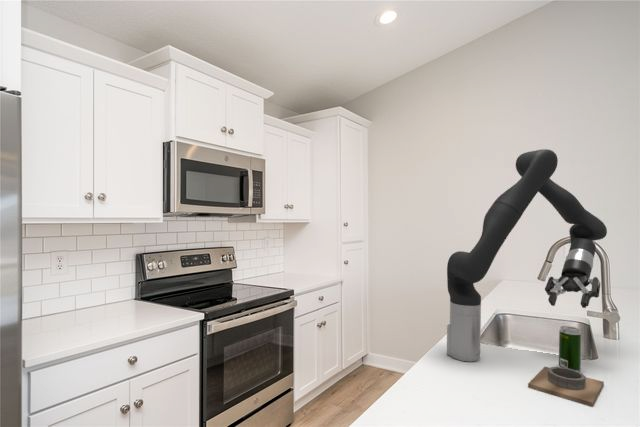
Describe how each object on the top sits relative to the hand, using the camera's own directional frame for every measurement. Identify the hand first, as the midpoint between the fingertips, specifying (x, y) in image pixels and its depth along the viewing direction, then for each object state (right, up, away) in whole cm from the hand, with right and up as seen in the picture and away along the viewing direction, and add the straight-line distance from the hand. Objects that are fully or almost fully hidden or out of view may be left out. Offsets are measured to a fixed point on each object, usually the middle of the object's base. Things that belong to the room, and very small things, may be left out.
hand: (567, 305), depth 116 cm
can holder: (-10, -18, -14) cm, 25 cm away
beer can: (-1, -18, -3) cm, 19 cm away
